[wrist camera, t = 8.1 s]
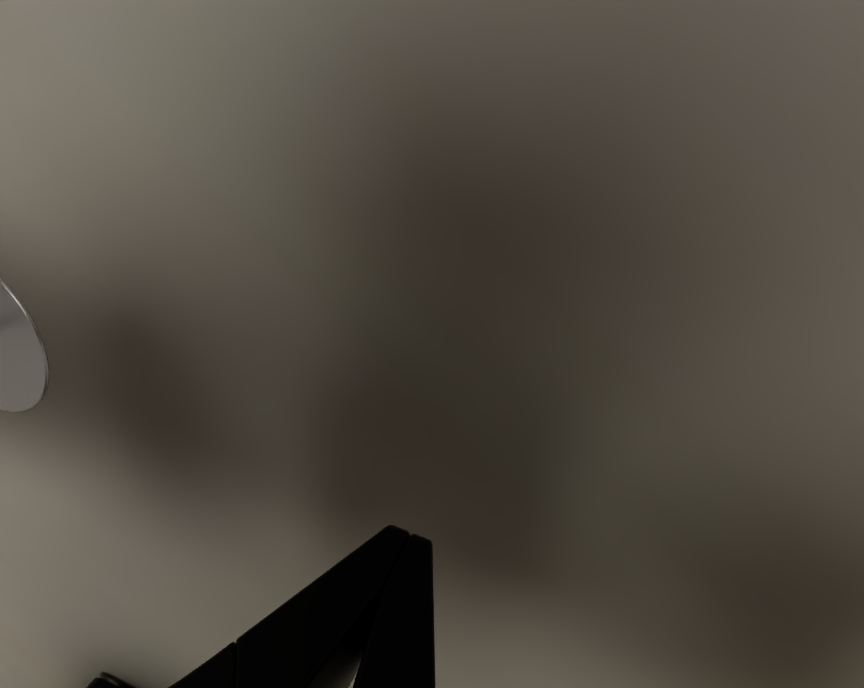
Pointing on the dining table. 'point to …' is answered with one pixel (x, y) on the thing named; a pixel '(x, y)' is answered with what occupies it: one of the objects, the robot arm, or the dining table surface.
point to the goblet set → (20, 356)
